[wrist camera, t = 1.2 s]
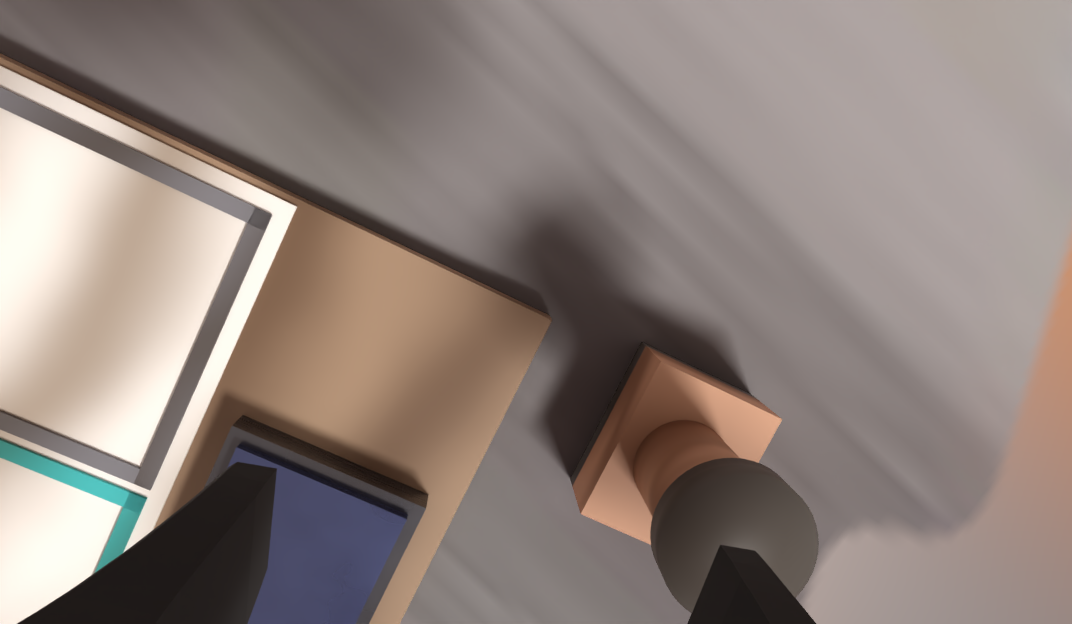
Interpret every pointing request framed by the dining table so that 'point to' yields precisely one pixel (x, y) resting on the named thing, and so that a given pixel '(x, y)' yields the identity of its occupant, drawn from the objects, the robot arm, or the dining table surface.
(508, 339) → the stamping board
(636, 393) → the stamp
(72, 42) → the dining table surface
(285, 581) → the ink pad
